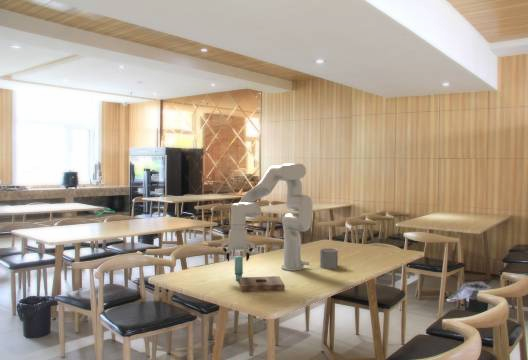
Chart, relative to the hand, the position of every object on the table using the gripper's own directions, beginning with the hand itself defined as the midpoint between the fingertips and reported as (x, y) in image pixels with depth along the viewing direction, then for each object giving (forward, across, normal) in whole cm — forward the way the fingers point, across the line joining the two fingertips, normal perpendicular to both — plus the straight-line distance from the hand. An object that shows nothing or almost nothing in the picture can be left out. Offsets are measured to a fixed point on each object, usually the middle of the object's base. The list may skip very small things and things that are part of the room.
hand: (237, 260), depth 229 cm
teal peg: (+10, -1, 0) cm, 10 cm away
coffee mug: (+9, -56, -24) cm, 61 cm away
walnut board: (+10, -11, +14) cm, 21 cm away
